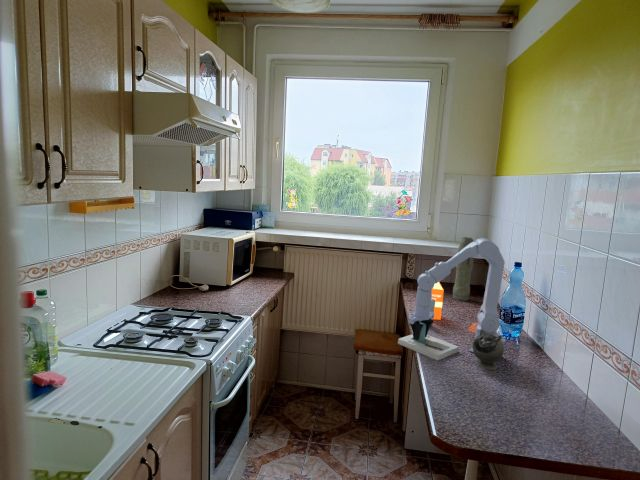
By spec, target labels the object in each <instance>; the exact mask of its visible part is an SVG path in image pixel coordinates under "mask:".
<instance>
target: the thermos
mask: <svg viewBox="0 0 640 480" xmlns="http://www.w3.org/2000/svg"><path fill="white" fill-rule="evenodd" d="M472 242H475V240H474V239H473V238H472V237H466V236H465V237H464V236H463V237H461V239H460V241H459V246H458V252H460V251H461V250H462V249H463V248H465V247H466V246H467V245H469V244H470V243H472ZM458 252H457V253H458ZM455 268H456V271H455V280H454V285H453V288H452V298H453V300H456V301H460V300H461V301H462V302H467V300H468V301H469V298H470V294H471V286H470V285H471V276H472V270H473V268H474V257H469V258H468V259H466V260H464V261H463V262H461V263H460V264H458V265H457V266H455ZM461 301H460V302H461Z"/></svg>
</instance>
